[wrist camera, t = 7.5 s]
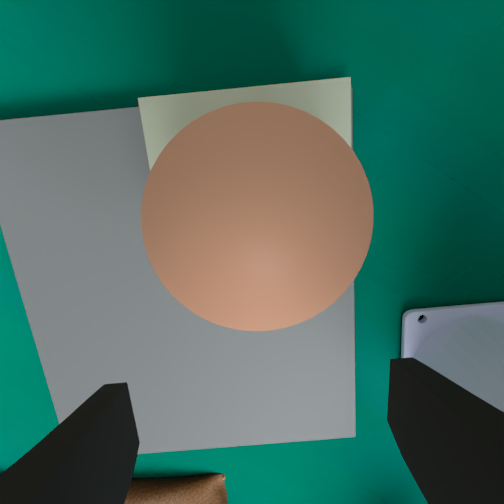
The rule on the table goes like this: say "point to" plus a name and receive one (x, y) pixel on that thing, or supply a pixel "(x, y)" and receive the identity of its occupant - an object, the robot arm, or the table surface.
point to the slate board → (151, 303)
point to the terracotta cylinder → (257, 216)
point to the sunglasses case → (178, 490)
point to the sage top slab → (199, 103)
